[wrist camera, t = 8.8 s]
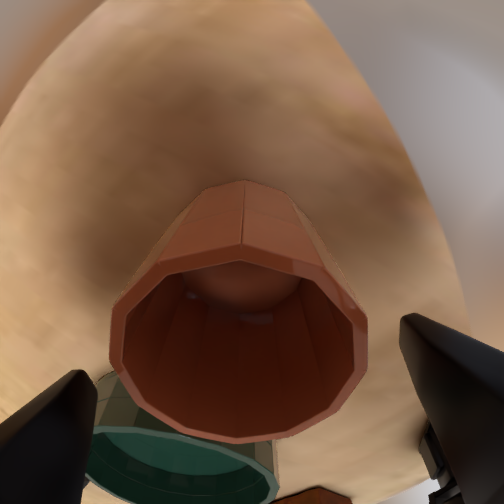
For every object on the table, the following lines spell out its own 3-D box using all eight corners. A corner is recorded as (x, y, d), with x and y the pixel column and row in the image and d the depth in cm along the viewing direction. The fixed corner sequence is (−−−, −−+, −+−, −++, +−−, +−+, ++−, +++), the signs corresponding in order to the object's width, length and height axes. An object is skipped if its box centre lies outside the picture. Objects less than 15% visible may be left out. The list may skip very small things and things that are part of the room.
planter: (250, 350, 17) (251, 419, 13) (286, 465, 23) (291, 513, 18) (57, 369, 18) (28, 418, 14) (139, 471, 24) (130, 512, 19)
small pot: (300, 168, 14) (361, 217, 6) (321, 299, 16) (366, 420, 9) (154, 201, 14) (67, 280, 7) (195, 323, 17) (167, 448, 9)
